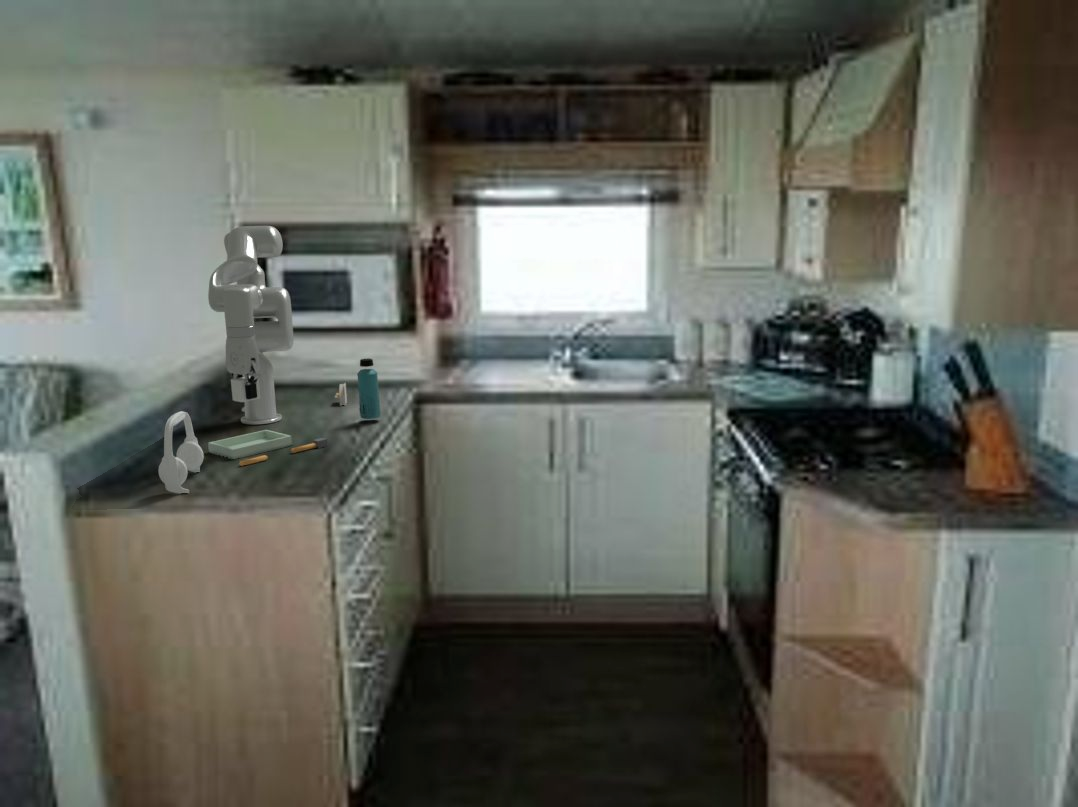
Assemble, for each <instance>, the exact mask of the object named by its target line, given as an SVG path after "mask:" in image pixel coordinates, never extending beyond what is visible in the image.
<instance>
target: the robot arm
mask: <svg viewBox="0 0 1078 807" xmlns="http://www.w3.org/2000/svg"><path fill="white" fill-rule="evenodd" d="M223 244H224V248H225V252H226V255H227V257H226V260H225V261H223V263H221V264H220V265H219V266H218V267H216V269H215V270H214V271H213V272H212V274H211V275H210V277H209V281H208V291H207V292H208V294H207V296H208V297H207V298H208V299H207V300H208V304H209V306H210V308H211V309H212V310H213V311H214V312H216V313H217V312H218V313H224V319H225V320H224V322H225V323H224V324H225V331H226V334H225V335H226V339H225V365H226V371H227V372H229V373H230V374H231V376H232V379H235V378H241V377H245V380H246V384H247V385H245V391H246V399H253V398H257V387H256V384H257V380H258V378H259V386H260V397H261V399H256V400H251V401H246V402H243V403H244V406H243V407H241V411H242V412H244V416H242V417H241V418H240V422H241V423H242V424H244V425H250V426H251V425H266V424H273V423H277V422H279V421H281V420H282V419H283V417H282V416H283V415H282V414H281V413H278V412H277V406H276V393H275V380H274V371H273V370H274V369H273V365H272V362H271V361H270V360H269V359H268V357H267V356H266V355H265V354H264V353H267V352H268V353H270V352H285V351H289V350H291V349H292V348H293V345H294V328H293V326H294V325H293V324H294V323H293V312H292V301H291V296H290V293H289V291H288V290H287V289H286V288H284V287H281V286H273V287H270V286H269V287H268V286H266V280H265V279H266V277H265V271H264V269H263V268H261V266H260V265H259V264H258V258H277V257H279V256H281V255H282V252H283V247H284V244H283V239H282V235H281V232H279V230H278V229H277V228H276V227H274V226H271V225H245V226H237V227H235V228H233V229H231V231H230V232H228V233H226V234H225V235H224V237H223ZM234 283H236V284H234ZM264 318H267V319H269V318H275V319H277V320H273V321H272V320H270V321H263V320H262V321H255V319H264ZM249 376H251V377H250V379H249Z"/></svg>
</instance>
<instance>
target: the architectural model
mask: <svg viewBox="0 0 1078 807" xmlns="http://www.w3.org/2000/svg"><path fill="white" fill-rule="evenodd" d="M338 389H339V390H338V392H336V393H335V395H334V398H335V399H337V398H339V407H343V406H342V405H347V404H346V403H348V399H347V398H348V397H347V396H348V395H347V384H346V382H344V383H339V388H338Z"/></svg>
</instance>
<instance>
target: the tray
mask: <svg viewBox="0 0 1078 807" xmlns="http://www.w3.org/2000/svg"><path fill="white" fill-rule="evenodd" d="M207 444H208V446H207V447H208V453H209V454H210V453H211V454H213V455H216V456H219V455H220V457H223V456H224V458H226V457H228V458H227V459H230V460H233V459H234V460H238V458H239V459H242V458H246V457H250V456H255V455H259V454H263V453H266V452H271V451H275V450H279V449H283V448H287V447H291V446H293V437H292V435H289V434H286V433H281V432H277V431H273V430H269V429H264V430H259V431H258V430H257V431H255V432H251V433H250V432H249V433H246V434H245V433H244V434H241V435H236V436H232V437H227V438H224V439H223V438H222V439H218V440H216V441H215V440H214V441H209V442H207Z"/></svg>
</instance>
